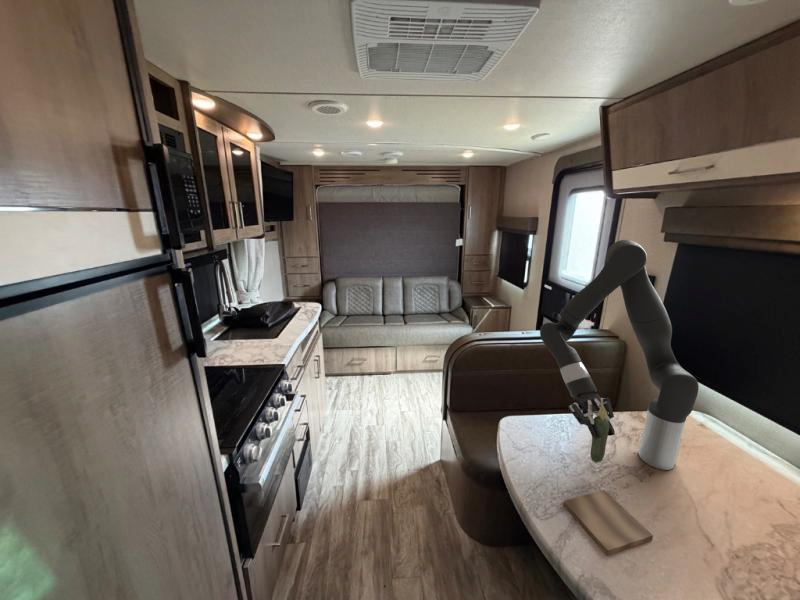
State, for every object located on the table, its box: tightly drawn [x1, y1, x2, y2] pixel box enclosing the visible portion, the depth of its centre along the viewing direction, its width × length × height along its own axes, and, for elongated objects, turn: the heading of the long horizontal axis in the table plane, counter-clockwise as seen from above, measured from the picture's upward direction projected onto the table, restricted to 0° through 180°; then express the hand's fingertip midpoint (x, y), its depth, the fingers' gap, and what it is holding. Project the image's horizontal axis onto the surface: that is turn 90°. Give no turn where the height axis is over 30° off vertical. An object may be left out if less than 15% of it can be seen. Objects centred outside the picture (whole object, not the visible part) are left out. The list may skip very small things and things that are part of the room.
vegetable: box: [589, 404, 609, 464], centre depth 93 cm, size 4×4×20 cm
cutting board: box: [562, 489, 654, 556], centre depth 82 cm, size 14×14×2 cm
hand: (604, 436), depth 91 cm, fingers closed on vegetable, 4 cm apart
